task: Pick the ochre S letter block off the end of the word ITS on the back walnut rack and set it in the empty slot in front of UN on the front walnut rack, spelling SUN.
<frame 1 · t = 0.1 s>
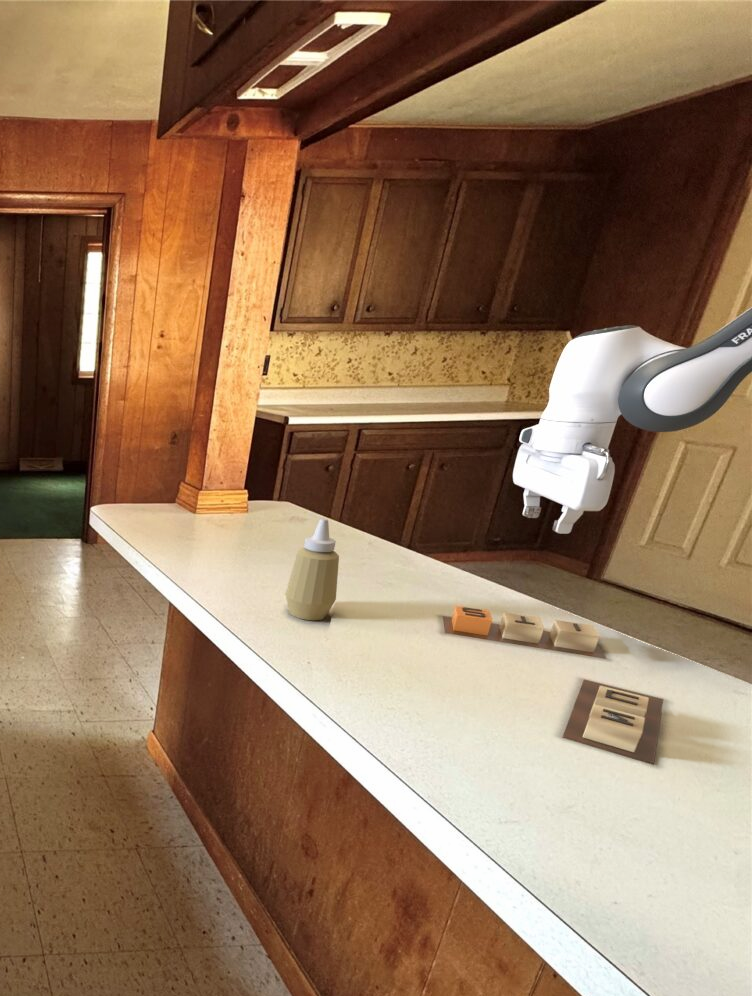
hand: (544, 524, 108), 18 cm above the countertop, tool pointing down, fingers open, 8 cm apart
s tile: (469, 628, 111), point 1 cm above the countertop, touching back rack
back rack: (516, 641, 108), on the countertop
front rack: (612, 723, 86), on the countertop
squeeze bottle: (306, 615, 120), on the countertop
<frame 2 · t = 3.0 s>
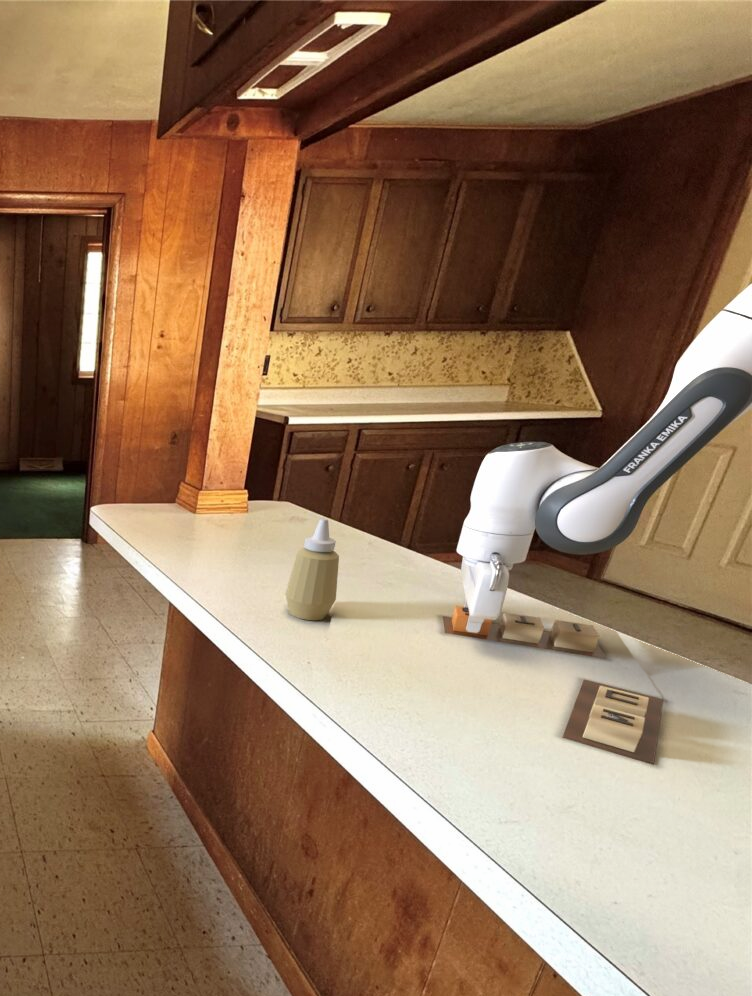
hand: (470, 624, 110), 2 cm above the countertop, tool pointing down, fingers closed on s tile, 4 cm apart
s tile: (469, 628, 111), point 1 cm above the countertop, touching back rack, gripper
everything else where it was.
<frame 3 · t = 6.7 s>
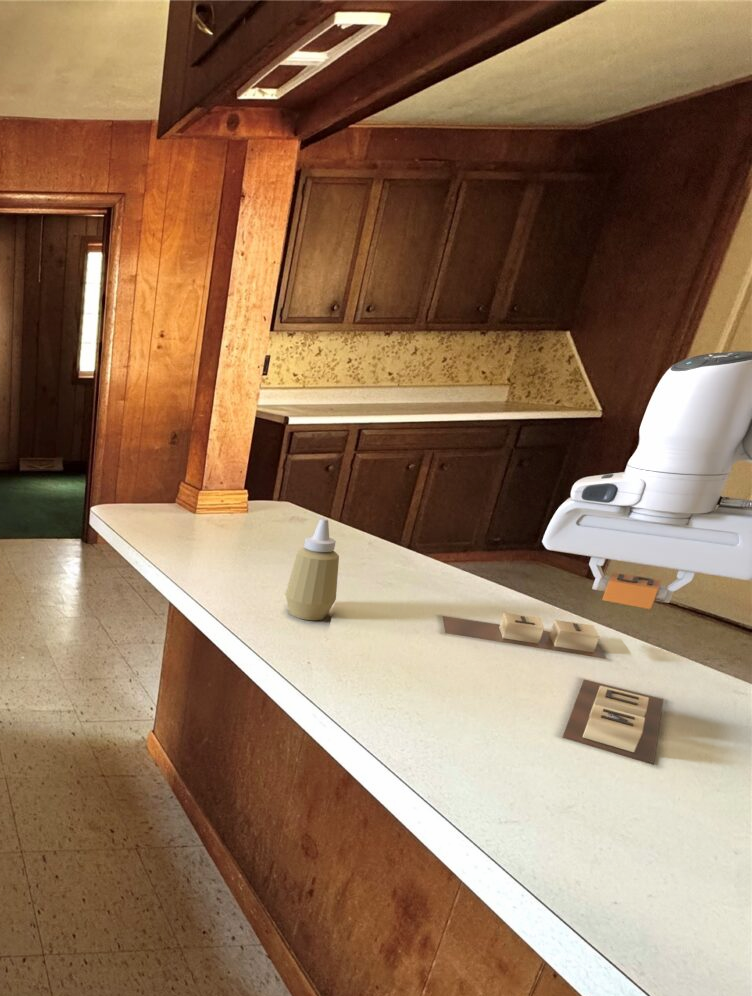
hand: (629, 594, 87), 15 cm above the countertop, tool pointing down, fingers closed on s tile, 4 cm apart
s tile: (627, 599, 87), point 14 cm above the countertop, touching gripper
everything else where it was.
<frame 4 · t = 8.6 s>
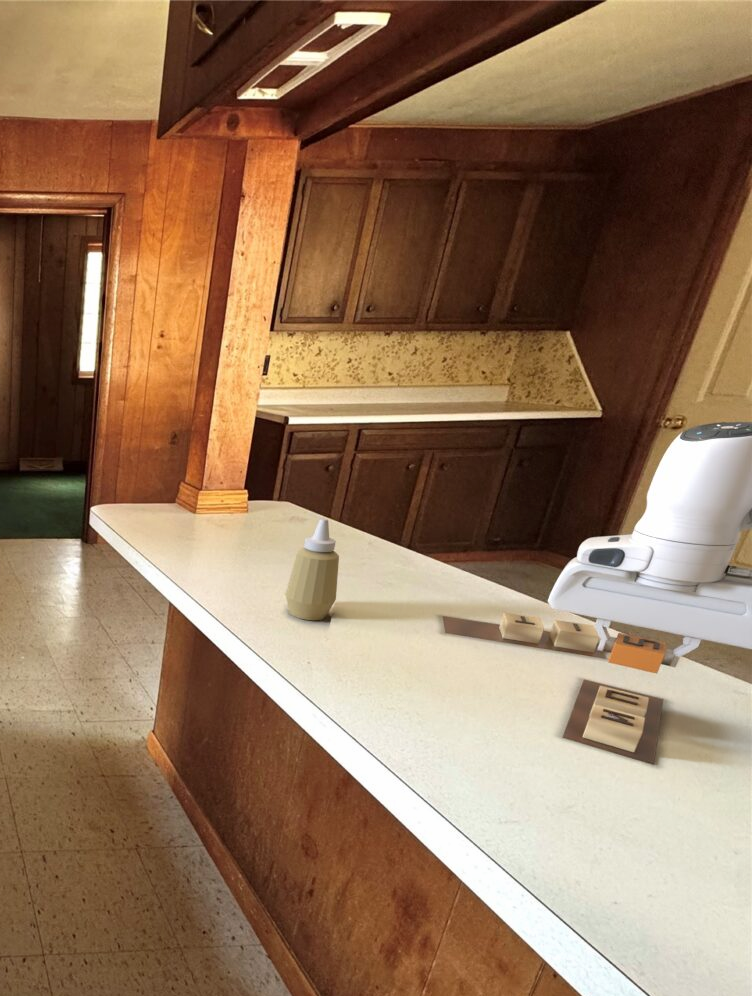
hand: (634, 657, 87), 7 cm above the countertop, tool pointing down, fingers closed on s tile, 4 cm apart
s tile: (633, 662, 87), point 6 cm above the countertop, touching gripper
everything else where it was.
when the fingers open (2 cm above the countertop, at t = 10.3 s): s tile stays where it is, resting on front rack.
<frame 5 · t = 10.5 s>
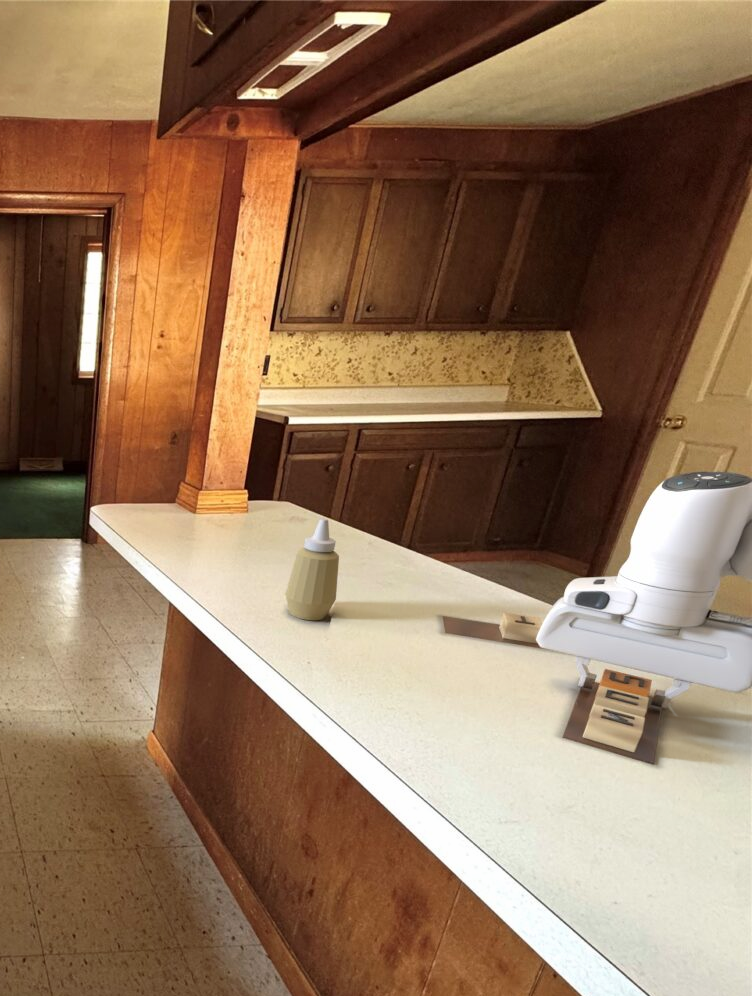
hand: (620, 695, 89), 1 cm above the countertop, tool pointing down, fingers open, 6 cm apart
s tile: (619, 698, 89), point 1 cm above the countertop, touching front rack
everything else where it was.
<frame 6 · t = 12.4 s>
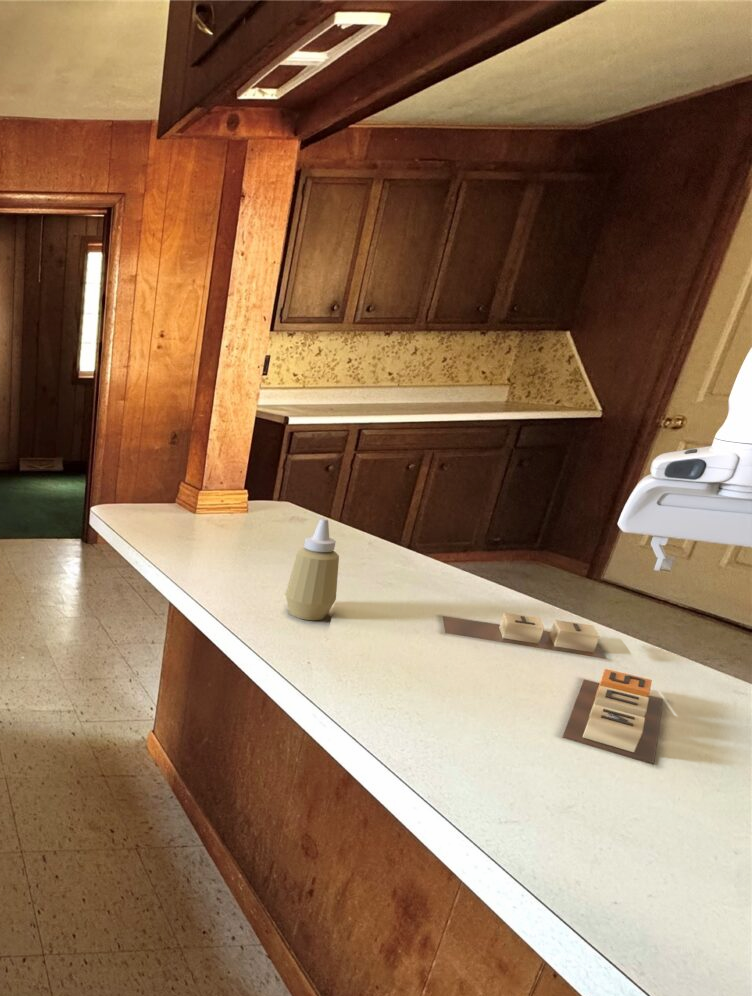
hand: (716, 578, 81), 19 cm above the countertop, tool pointing down, fingers open, 8 cm apart
nothing on the countertop moved.
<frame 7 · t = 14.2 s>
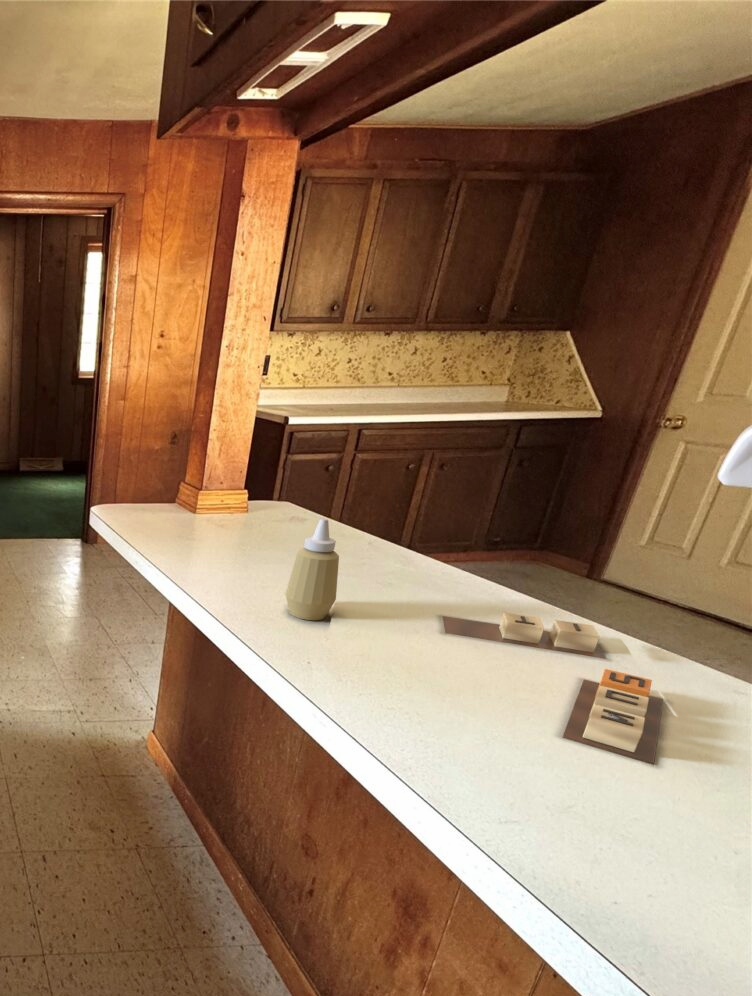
nothing on the countertop moved.
at the end: s tile 0.1 cm from the target spot on the front rack, point 1.0 cm above the front rack's base; s tile tilted 0°; the gripper is holding nothing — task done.
